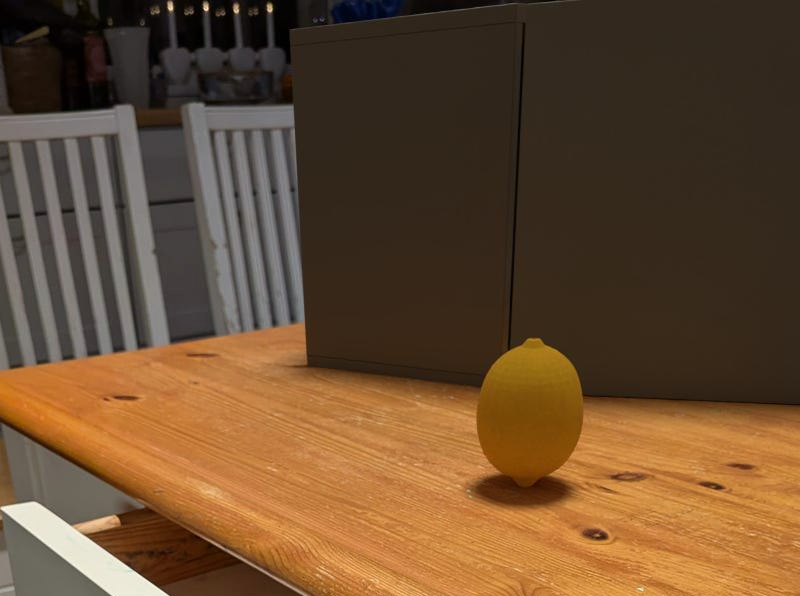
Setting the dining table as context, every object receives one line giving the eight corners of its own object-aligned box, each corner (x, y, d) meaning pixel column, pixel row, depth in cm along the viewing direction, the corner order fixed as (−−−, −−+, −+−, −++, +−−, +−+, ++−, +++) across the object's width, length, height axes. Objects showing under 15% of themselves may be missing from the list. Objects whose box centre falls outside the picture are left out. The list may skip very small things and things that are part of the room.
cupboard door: (933, 441, 56) (1067, -58, 44) (488, 418, 64) (505, -7, 53) (911, 405, 62) (1022, -38, 51) (510, 388, 71) (528, 4, 59)
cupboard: (631, 326, 88) (664, 18, 77) (499, 391, 71) (516, 2, 59) (460, 313, 98) (467, 38, 87) (306, 367, 80) (289, 29, 69)
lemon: (466, 501, 51) (471, 348, 47) (482, 468, 56) (487, 326, 52) (573, 508, 50) (586, 351, 46) (580, 473, 54) (593, 327, 50)
